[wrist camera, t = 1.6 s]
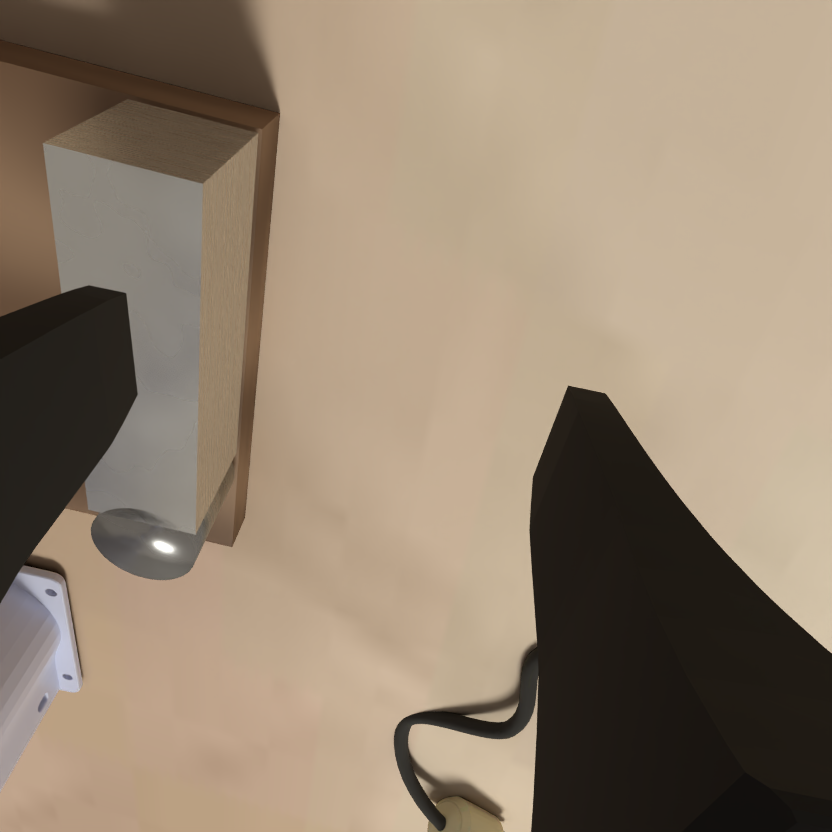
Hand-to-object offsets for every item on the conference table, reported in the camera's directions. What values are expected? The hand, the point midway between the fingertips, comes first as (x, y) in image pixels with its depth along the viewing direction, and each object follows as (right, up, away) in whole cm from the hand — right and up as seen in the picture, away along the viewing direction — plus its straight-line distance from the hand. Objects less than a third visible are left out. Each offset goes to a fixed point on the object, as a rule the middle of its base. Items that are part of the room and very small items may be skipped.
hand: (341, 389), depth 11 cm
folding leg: (-5, +2, +8) cm, 10 cm away
